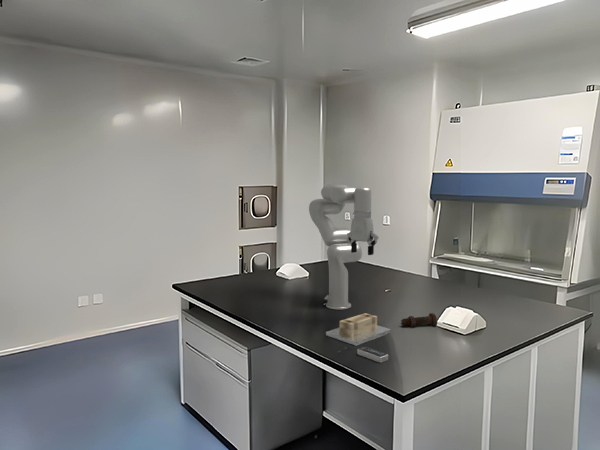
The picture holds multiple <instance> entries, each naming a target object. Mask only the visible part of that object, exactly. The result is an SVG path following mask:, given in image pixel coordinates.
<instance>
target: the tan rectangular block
mask: <svg viewBox="0 0 600 450" xmlns="http://www.w3.org/2000/svg"><path fill="white" fill-rule="evenodd" d="M377 325H378V316H377V315H373V314H370V313H362V314H358V315H355V316H351V317H347V318H346V319H341V320H339V328H340V333H341V334H344V335H347V336H350V337H353V336H356V335H359V334H362V333H365V332H367V331H370V330H373V329H376V328H377Z"/></svg>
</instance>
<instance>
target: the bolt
mask: <svg viewBox="0 0 600 450" xmlns="http://www.w3.org/2000/svg"><path fill="white" fill-rule="evenodd" d="M400 324H401V326H402V327H410V328H415V327H416V326H419V325H421V326H422V325H430V326H432V327H436V326H437V325H438V319H437V315H436V314H435V313H434V312H429V313H428V316H417V317H414V316H413V315H409V316H408V317H406V318H402V319H401V320H400Z"/></svg>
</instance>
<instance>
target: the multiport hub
mask: <svg viewBox="0 0 600 450" xmlns="http://www.w3.org/2000/svg"><path fill="white" fill-rule="evenodd" d="M356 350H357V351H356V352H357V353H356V355H358V356H361V357H364V358H365V359H366V358H367V359H369V360H371V361H375V362H378V363H384V362H386V361H389V354H388V353H385V352H382V351H380V350H376V349H374V348H371V347H368V346H362V347H359V348H357V349H356Z"/></svg>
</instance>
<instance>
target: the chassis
mask: <svg viewBox="0 0 600 450" xmlns="http://www.w3.org/2000/svg"><path fill="white" fill-rule="evenodd" d="M391 333H392V329H391V328H389V327H385V326H382V325H378V324H377V328H376V329H373V330H370V331H367V332H365V333H362V334H359V335H356V336H353V337H350V336H347V335H344V334H341V333H340V327H337V328H334V329H331V330H329V331H325V336H327V337H329V338H332V339H335V340H338V341H341V342H344V343H347V344H349V345H353V346H355V347H357V346H359V345H362V344H365V343H366V342H370V341H372V340H375V339H378V338H381V337H383V336H384V337H385V336H386V335H388V334H391Z"/></svg>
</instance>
